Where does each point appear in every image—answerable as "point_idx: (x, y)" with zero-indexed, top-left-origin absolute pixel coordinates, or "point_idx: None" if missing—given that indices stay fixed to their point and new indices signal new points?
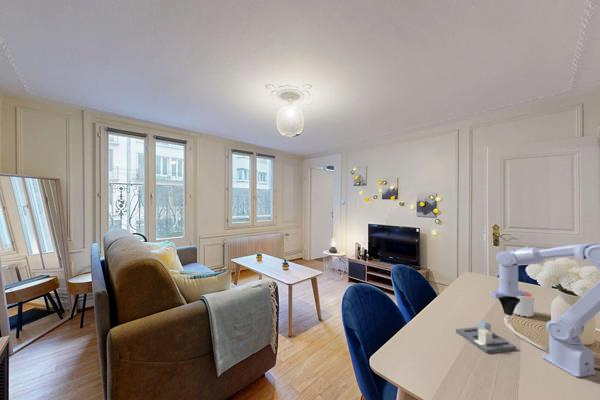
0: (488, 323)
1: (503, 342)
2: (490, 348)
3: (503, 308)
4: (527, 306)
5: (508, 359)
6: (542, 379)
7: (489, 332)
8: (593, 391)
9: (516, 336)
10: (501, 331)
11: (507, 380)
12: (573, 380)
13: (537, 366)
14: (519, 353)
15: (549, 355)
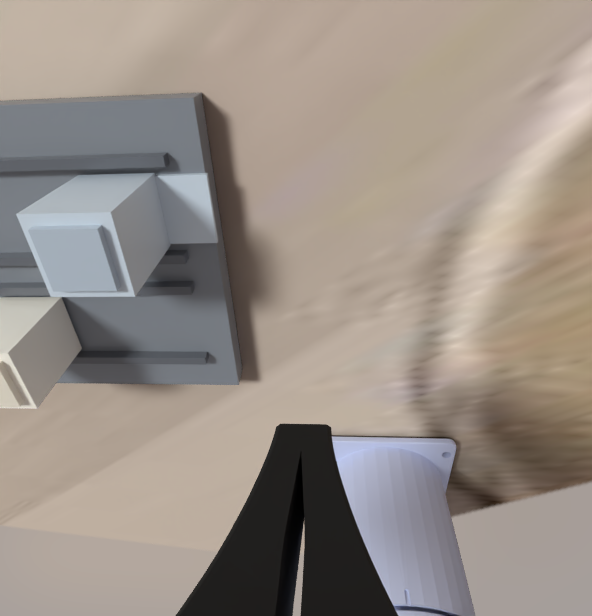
0: (110, 289)
1: (169, 359)
2: None
3: (255, 489)
4: None
5: (112, 417)
6: (162, 506)
7: (12, 403)
8: None
9: (432, 251)
10: (382, 159)
11: (6, 490)
12: None
13: (221, 465)
14: (227, 394)
15: (341, 474)
